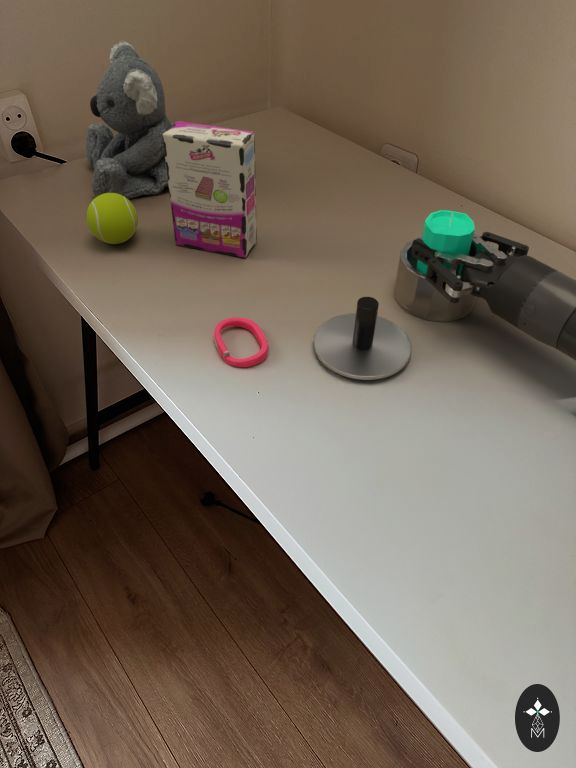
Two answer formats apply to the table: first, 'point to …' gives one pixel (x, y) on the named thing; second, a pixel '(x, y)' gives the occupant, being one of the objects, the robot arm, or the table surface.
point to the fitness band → (250, 326)
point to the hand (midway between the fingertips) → (429, 238)
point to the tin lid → (362, 343)
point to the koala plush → (128, 128)
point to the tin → (425, 293)
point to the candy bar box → (212, 187)
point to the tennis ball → (112, 218)
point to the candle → (447, 235)
